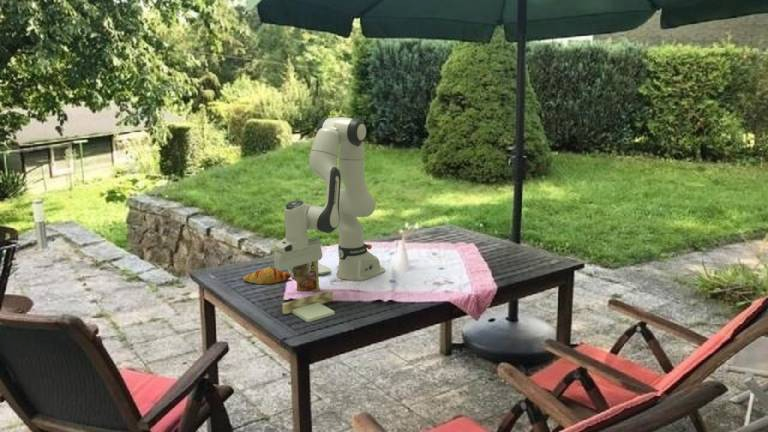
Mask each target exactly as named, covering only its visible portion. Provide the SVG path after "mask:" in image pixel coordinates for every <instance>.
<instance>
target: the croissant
mask: <svg viewBox="0 0 768 432" xmlns="http://www.w3.org/2000/svg"><path fill="white" fill-rule="evenodd" d="M291 278H292V277H291V276H290V272H288V273H287V272H286V271H282V270H281V271H280V270H278V269H276V268H274V267H273V266H267V267H265V268H262V269H258V270H255V271H253V272H252V273H251V272H250V273H248V274H246V275H244V276H243V278H242V279H243V280H244V281H245V282H247V283H251V284H257V285H272V284H275V283H281V282H285V281H287V280H289V279H291Z"/></svg>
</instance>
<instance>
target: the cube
mask: <svg viewBox="0 0 768 432" xmlns="http://www.w3.org/2000/svg"><path fill="white" fill-rule="evenodd" d="M292 271H293V272H295V273H296V277H293V278H292V277H291V280H294V281H295V282H296V283H297V282H301V281H304V280H308V279H309V271H308V267H306V266H304V265H299V266H295V267H293V270H292Z"/></svg>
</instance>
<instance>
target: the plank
mask: <svg viewBox="0 0 768 432" xmlns="http://www.w3.org/2000/svg"><path fill="white" fill-rule="evenodd" d="M333 297H334V296H333V291H332V290H327V291H323V292H320V293H316V294H313V295H309V296H305V297H302V298H298V299H294V300H290V301H287V302H283V303H282V305H281V306H282V314H284V315H287V314H291V313H292V309H296V308H300V307H303V306H307V305H310V304H314V303H318V302H319V303H320V304H322V305H324V304H326V303H331V302H334V300H333Z"/></svg>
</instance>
